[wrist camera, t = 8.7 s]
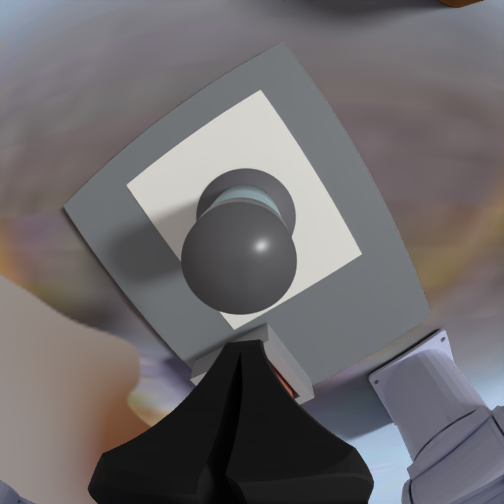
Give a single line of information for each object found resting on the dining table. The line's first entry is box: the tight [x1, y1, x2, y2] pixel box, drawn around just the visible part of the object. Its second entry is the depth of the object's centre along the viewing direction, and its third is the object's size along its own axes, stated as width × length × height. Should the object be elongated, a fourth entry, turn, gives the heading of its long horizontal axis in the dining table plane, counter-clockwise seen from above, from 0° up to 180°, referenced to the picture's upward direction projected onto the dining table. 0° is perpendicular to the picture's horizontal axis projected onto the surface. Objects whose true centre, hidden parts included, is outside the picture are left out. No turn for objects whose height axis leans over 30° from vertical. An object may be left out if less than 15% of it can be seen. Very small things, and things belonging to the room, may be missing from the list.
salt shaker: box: [181, 184, 297, 315], centre depth 15 cm, size 4×4×8 cm
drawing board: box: [63, 42, 432, 405], centre depth 19 cm, size 22×18×3 cm
